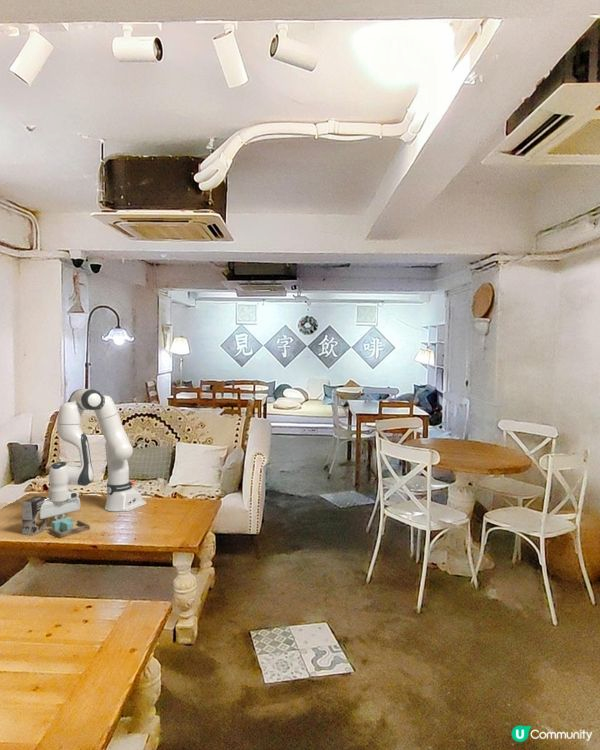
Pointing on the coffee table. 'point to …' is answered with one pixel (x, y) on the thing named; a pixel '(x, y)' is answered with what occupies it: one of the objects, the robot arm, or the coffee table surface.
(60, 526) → the t block
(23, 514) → the coffee box
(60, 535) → the dark u-shaped bracket
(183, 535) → the coffee table surface
